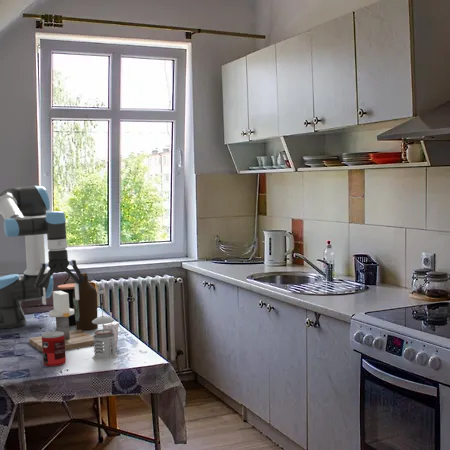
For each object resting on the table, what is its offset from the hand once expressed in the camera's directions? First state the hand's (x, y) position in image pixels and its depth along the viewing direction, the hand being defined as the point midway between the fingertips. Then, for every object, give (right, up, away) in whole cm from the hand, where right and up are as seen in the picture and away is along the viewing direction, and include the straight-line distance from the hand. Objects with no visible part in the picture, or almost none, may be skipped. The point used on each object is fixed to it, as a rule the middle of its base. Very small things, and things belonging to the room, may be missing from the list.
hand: (61, 301), depth 264 cm
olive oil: (+5, -15, +27) cm, 31 cm away
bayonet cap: (0, -5, 0) cm, 5 cm away
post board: (+1, -17, +1) cm, 17 cm away
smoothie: (+22, -17, -9) cm, 30 cm away
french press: (+23, -18, -23) cm, 37 cm away
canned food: (+5, -19, -28) cm, 34 cm away
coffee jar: (-5, -15, +39) cm, 42 cm away
